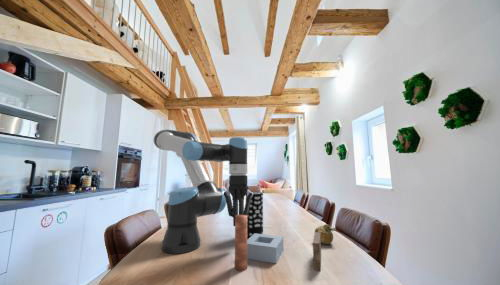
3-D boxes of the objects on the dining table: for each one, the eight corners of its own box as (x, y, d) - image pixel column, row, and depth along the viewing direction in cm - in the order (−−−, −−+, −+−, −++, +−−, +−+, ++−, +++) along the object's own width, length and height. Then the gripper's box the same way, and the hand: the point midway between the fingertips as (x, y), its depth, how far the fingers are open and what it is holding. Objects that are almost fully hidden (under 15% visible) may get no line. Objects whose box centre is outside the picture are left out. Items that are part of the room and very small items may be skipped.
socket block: (243, 257, 71) (243, 243, 72) (254, 246, 83) (254, 233, 83) (276, 263, 67) (276, 247, 68) (283, 250, 78) (283, 236, 79)
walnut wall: (313, 269, 63) (312, 242, 64) (315, 254, 74) (314, 231, 75) (320, 270, 62) (319, 243, 63) (321, 255, 74) (320, 232, 75)
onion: (325, 239, 91) (324, 220, 92) (338, 245, 84) (337, 225, 85) (311, 240, 89) (310, 222, 90) (323, 247, 81) (322, 226, 82)
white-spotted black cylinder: (265, 235, 96) (265, 192, 99) (259, 240, 89) (258, 194, 91) (250, 232, 100) (250, 191, 102) (242, 238, 92) (242, 193, 95)
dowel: (232, 269, 63) (233, 216, 65) (237, 264, 67) (238, 214, 69) (244, 271, 62) (244, 217, 64) (249, 266, 65) (249, 215, 68)
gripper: (219, 175, 81) (219, 236, 78) (249, 174, 77) (250, 239, 74) (228, 174, 88) (227, 230, 85) (256, 174, 84) (257, 233, 80)
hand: (238, 235), depth 79 cm, fingers closed
